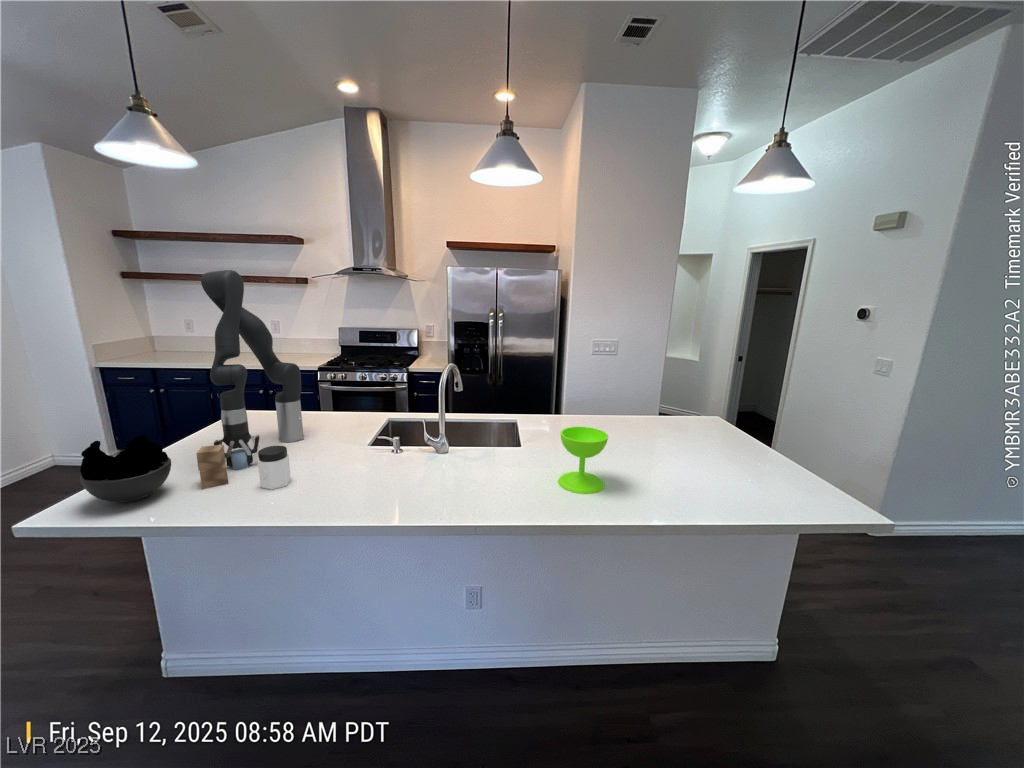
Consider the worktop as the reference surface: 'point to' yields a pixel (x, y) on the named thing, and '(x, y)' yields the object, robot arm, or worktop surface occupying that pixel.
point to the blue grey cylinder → (239, 459)
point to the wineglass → (582, 458)
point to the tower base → (214, 477)
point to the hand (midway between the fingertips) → (240, 465)
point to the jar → (274, 467)
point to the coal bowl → (124, 471)
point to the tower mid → (211, 457)
